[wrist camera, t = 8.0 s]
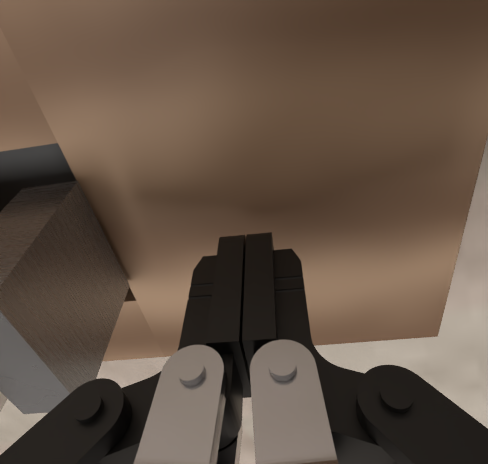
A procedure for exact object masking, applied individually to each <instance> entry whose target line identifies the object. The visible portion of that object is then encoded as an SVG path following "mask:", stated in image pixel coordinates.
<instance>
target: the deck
mask: <svg viewBox="0 0 488 464" xmlns="http://www.w3.org/2000/svg"><path fill="white" fill-rule="evenodd" d="M487 136H488V0H0V212H1V211H2V210H3V209H4V208H5V207H6V205H7V204H8V203H9V202H10V201H11V200H12V199H13V198H14V197H15V196H16V195H17V194H18V193H19V192H20V191H21V189H22V188H28V187H35V186H43V185H50V184H58V183H65V182H72V181H78V182H79V184H80V186H81V188H82V190H83V192H84V194H85V196H86V198H87V200H88V202H89V204H90V206H91V208H92V210H93V212H94V214H95V216H96V218H97V220H98V222H99V224H100V226H101V228H102V230H103V232H104V234H105V236H106V238H107V240H108V242H109V244H110V246H111V248H112V250H113V252H114V254H115V256H116V258H117V260H118V262H119V264H120V266H121V268H122V270H123V273H124V275H125V277H126V279H127V281H128V283H129V285H130V286H129V289H128V292H127V295H126V297H125V300H124V303H123V306H122V308H121V311H120V314H119V317H118V319H117V322H116V325H115V328H114V330H113V333H112V336H111V339H110V341H109V344H108V347H107V350H106V352H105V355H104V358H103V361H113V360H126V359H140V358H153V357H166V356H172V355H173V354H174V353H176V352H177V350H178V347H179V342H180V337H181V332H182V327H183V322H184V316H185V311H186V306H187V301H188V299H189V297H188V296H189V290H190V287H191V280H192V275H193V270H194V268H195V267H196V266H197V264H198V263H199V261H200V260H201V259H202V257H203V256H213V255H217V250H218V242H219V238H220V237H226V236H237V235H245V236H246V235H247V234H257V233H268V232H272V237H273V245H274V250H280V249H293V251H294V252H295V253H296V255H297V256H298V257H299V259H300V260H301V264H302V272H303V279H304V287H305V294H306V302H307V310H308V317H309V325H310V332H311V338H312V342H313V345H328V344H341V343H354V342H368V341H381V340H395V339H408V338H422V337H435V336H438V333H439V329H440V325H441V321H442V317H443V313H444V309H445V305H446V301H447V297H448V293H449V289H450V285H451V281H452V277H453V273H454V269H455V265H456V260H457V256H458V252H459V248H460V244H461V240H462V236H463V232H464V228H465V224H466V220H467V216H468V212H469V208H470V204H471V200H472V196H473V192H474V188H475V184H476V180H477V176H478V172H479V168H480V164H481V160H482V156H483V152H484V148H485V144H486V140H487Z"/></svg>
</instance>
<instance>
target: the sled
mask: <svg viewBox="0 0 488 464" xmlns="http://www.w3.org/2000/svg"><path fill="white" fill-rule="evenodd" d="M129 286H130V285H129V283H128V281H127V279H126V277H125V275H124V273H123V270H122V268H121V266H120V264H119V262H118V260H117V258H116V256H115V254H114V252H113V250H112V248H111V246H110V244H109V242H108V240H107V238H106V236H105V234H104V232H103V230H102V228H101V226H100V224H99V222H98V220H97V218H96V216H95V214H94V212H93V210H92V208H91V206H90V204H89V202H88V200H87V198H86V196H85V194H84V192H83V190H82V188H81V186H80V184H79V182H78V181H72V182H65V183H58V184H50V185H43V186H35V187H28V188H22V189H21V191H20V192H19V193H18V194H17V195H16V196H15V197H14V198H13V199H12V200H11V201H10V202H9V203H8V204H7V205H6V207H5V208H4V209H3V210H2V211H1V212H0V392H1V393H2V394H3V395H4V396H5V397H6V398H7V399H9V400H10V401H11V402H12V403H13V404H14V405H15V406H16V407H17V408H18V409H19V410H20V411H21V412H22V413H23V414H30V413H48V412H50V411H51V410H52V409H53V408H55V407H56V406H57V405H58V404H59V403H60V402H61V401H62V400H64V399H65V398H66V397H67V396H68V395H69V394H70V393H72V392H73V391H74V390H75V389H76V388H78V387H79V386H81V385H82V384H84V383H86V382H88V381H91V380H94V379H96V377H97V374H98V372H99V369H100V366H101V363H102V361H103V358H104V355H105V352H106V350H107V347H108V344H109V341H110V339H111V336H112V333H113V330H114V328H115V325H116V322H117V319H118V317H119V314H120V311H121V308H122V306H123V303H124V300H125V297H126V295H127V292H128V289H129Z"/></svg>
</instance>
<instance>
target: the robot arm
mask: <svg viewBox="0 0 488 464" xmlns="http://www.w3.org/2000/svg"><path fill="white" fill-rule="evenodd" d="M188 297H189V299H188V301H187V306H186V311H185V316H184V322H183V327H182V332H181V337H180V342H179V347H178V350H177V352H176V353H174V354H173V355H172V356H171V357H170V358H169V359H168V360H167V361H166V363H165V365H164V366H163V369H162V371H161V372H159V373H158V374H156V375H154V376H152V377H150V378H148V379H145V380H142V381H140V382H137V383H134V384H132V385H129V386H126V387H124V388H121V387H120V386H119V385H118V384H117V383H116V382H114V381H112V380H110V379H94V380H91V381H88V382H86V383H84V384H82V385H81V386H79V387H78V388H76V389H75V390H74V391H73V392H72V393H70V394H69V395H68V396H67V397H66V398H65V399H64V400H62V401H61V402H60V403H59V404H58V405H57V406H56V407H55V408H53V409H52V410H51V411H50V412H49V413H48V414H47V415H45V416H44V417H43V418H42V419H41V420H40V421H39V422H38V423H36V424H35V425H34V426H33V427H32V428H31V429H30V430H28V431H27V432H26V433H25V434H24V435H23V436H22V437H21V438H19V439H18V440H17V441H16V442H15V443H14V444H13V445H11V446H10V447H9V448H8V449H7V450H6V451H5V452H4V453H2V454H1V455H0V464H239V460H240V450H241V440H242V401H243V398H246V397H252V413H253V429H254V445H255V460H256V464H488V429H487V428H486V427H485V426H483V425H482V424H481V423H479V422H478V421H477V420H476V419H474V418H473V417H472V416H470V415H469V414H468V413H466V412H465V411H464V410H463V409H461V408H460V407H459V406H457V405H456V404H455V403H453V402H452V401H451V400H449V399H448V398H447V397H446V396H444V395H443V394H442V393H440V392H439V391H438V390H436V389H435V388H434V387H433V386H431V385H430V384H429V383H427V382H426V381H425V380H423V379H422V378H421V377H419V376H418V375H417V374H415V373H414V372H412V371H410V370H408V369H406V368H403V367H400V366H395V365H381V366H377V367H374V368H372V369H370V370H369V371H367V372H366V373H365V374H364V373H360V372H356V371H352V370H348V369H344V368H341V367H338V366H336V365H333V364H331V363H330V362H328V361H327V360H325V359H324V358H323V357H322V356H321V355H320V354H319V353H318V352H317V350H316V349H315V347H314V345H313V342H312V338H311V332H310V325H309V317H308V310H307V302H306V294H305V287H304V279H303V272H302V264H301V260H300V259H299V257H298V256H297V255H296V253H295V252H294V251H293V249H280V250H274V245H273V237H272V232H268V233H257V234H247V235H246V236H245V235H237V236H226V237H220V238H219V242H218V250H217V255H213V256H203V257H202V259H201V260H200V261H199V263H198V264H197V266H196V267H195V268H194V270H193V275H192V280H191V287H190V290H189V296H188Z"/></svg>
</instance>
